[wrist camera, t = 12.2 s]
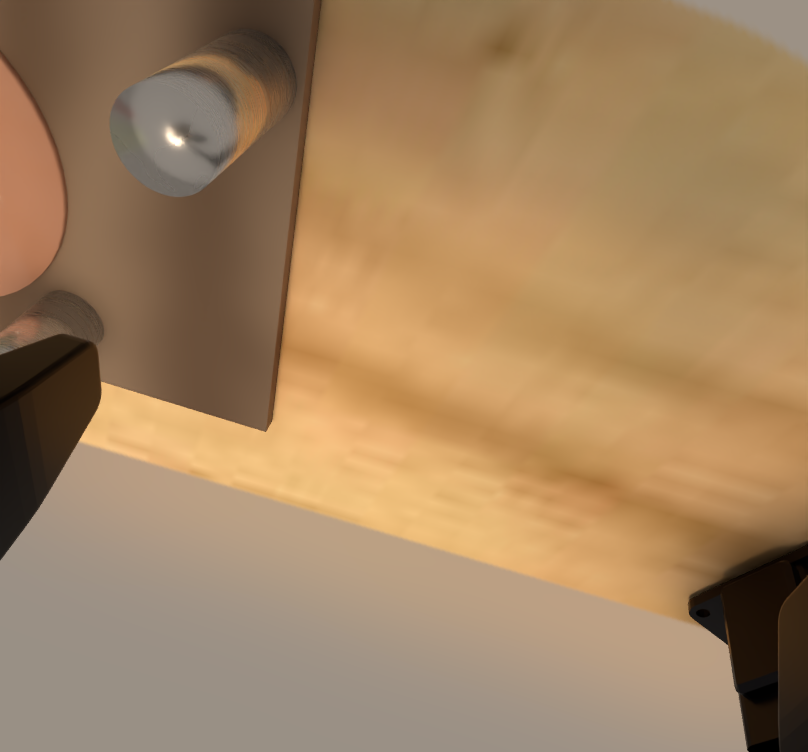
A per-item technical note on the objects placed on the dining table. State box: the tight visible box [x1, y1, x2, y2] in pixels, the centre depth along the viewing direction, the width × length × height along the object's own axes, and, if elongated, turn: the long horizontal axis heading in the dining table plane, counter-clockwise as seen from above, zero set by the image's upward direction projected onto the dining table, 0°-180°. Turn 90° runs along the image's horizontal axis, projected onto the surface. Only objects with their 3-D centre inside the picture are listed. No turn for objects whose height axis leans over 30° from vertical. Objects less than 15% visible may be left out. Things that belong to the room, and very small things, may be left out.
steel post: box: [0, 29, 297, 354], centre depth 20 cm, size 2×14×5 cm, turn 137°
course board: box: [0, 0, 321, 432], centre depth 23 cm, size 18×15×1 cm
